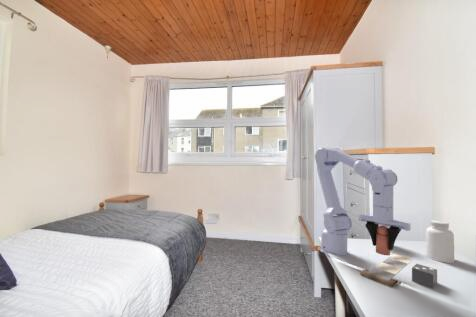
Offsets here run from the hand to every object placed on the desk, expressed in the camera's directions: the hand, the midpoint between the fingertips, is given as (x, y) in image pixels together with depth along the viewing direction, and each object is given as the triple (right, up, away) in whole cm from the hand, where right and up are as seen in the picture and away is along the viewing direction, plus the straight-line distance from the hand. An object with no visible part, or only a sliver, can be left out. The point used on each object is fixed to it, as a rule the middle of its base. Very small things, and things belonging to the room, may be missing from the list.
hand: (382, 247), depth 73 cm
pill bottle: (+30, -10, +12) cm, 34 cm away
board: (+7, -10, +5) cm, 13 cm away
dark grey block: (+9, -10, -6) cm, 14 cm away
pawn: (0, -2, 0) cm, 2 cm away
